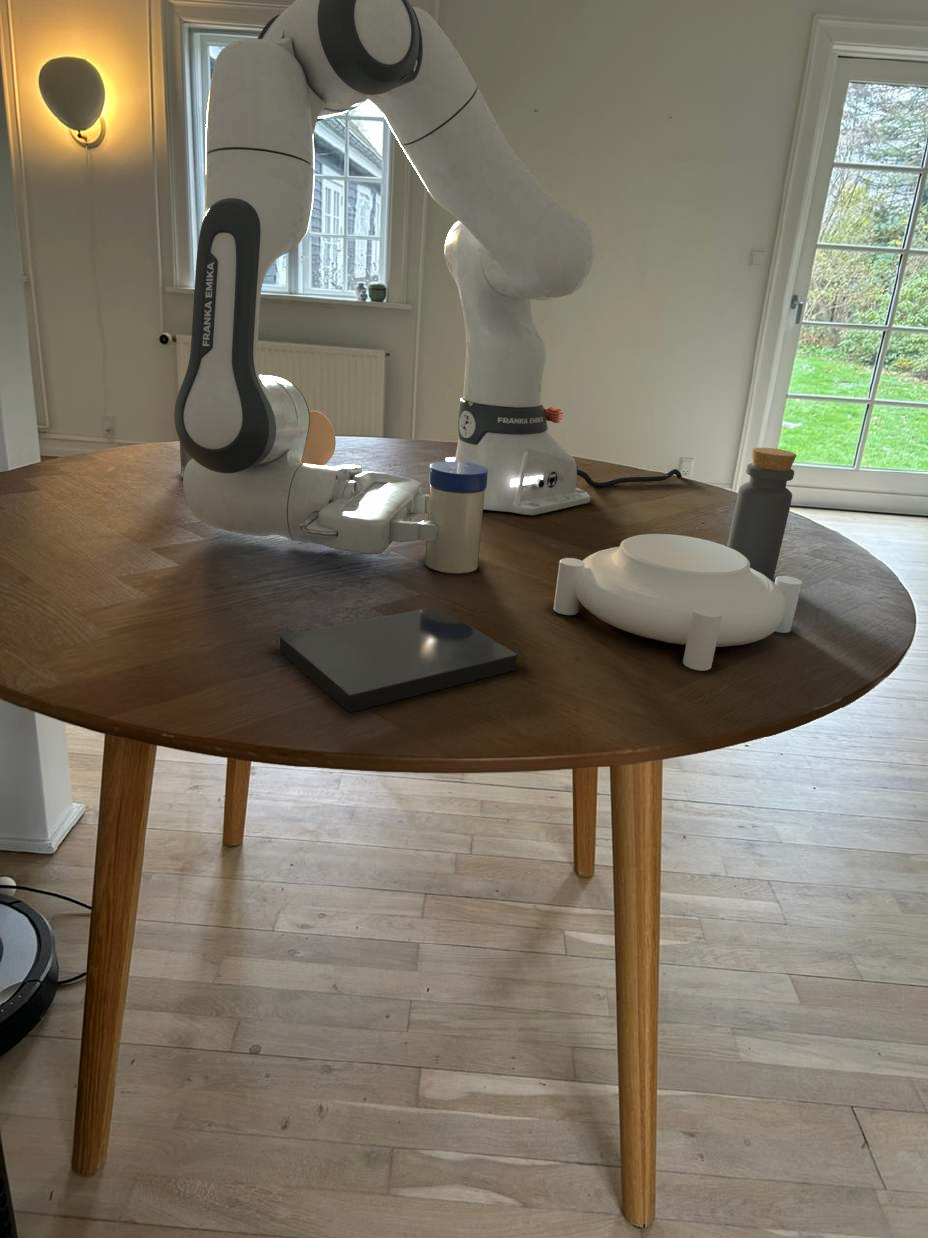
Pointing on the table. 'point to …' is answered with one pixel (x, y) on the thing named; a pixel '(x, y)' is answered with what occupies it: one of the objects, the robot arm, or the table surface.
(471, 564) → the jar
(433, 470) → the lid
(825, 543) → the table surface
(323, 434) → the egg
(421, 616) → the board
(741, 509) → the bottle
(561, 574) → the round stand with pegs
